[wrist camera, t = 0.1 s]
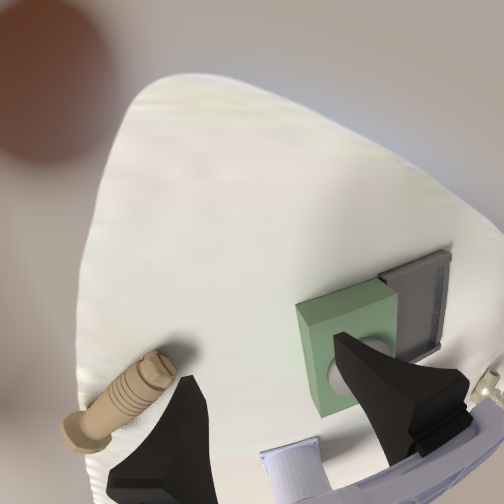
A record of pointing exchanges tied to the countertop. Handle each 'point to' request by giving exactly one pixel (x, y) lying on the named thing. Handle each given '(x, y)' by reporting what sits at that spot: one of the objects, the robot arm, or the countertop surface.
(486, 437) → the robot arm
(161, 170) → the countertop surface
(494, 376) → the valve
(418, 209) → the countertop surface
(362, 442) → the countertop surface
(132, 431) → the countertop surface
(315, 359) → the green block with dome
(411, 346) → the gray rectangular tray
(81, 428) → the handle
